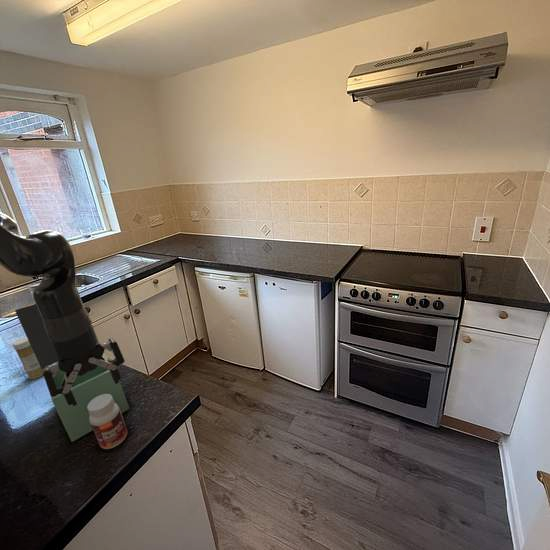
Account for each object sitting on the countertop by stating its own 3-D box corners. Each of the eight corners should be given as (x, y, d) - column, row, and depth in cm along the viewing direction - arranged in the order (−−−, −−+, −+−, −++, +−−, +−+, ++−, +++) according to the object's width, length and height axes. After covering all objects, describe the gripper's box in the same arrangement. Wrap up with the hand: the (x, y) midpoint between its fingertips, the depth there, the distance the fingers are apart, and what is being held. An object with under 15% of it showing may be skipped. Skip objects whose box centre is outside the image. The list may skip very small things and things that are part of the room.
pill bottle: (108, 454, 68) (92, 416, 63) (94, 443, 71) (78, 406, 67) (133, 434, 72) (120, 397, 68) (119, 424, 76) (105, 388, 71)
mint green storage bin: (129, 408, 80) (115, 368, 75) (71, 442, 72) (51, 399, 67) (111, 382, 91) (98, 345, 86) (60, 408, 83) (41, 369, 78)
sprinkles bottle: (46, 368, 101) (31, 334, 96) (45, 376, 97) (29, 341, 92) (29, 374, 99) (13, 340, 94) (28, 382, 95) (10, 346, 90)
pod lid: (77, 291, 82) (76, 290, 82) (14, 310, 73) (14, 309, 74) (98, 344, 86) (97, 344, 86) (41, 368, 77) (41, 368, 78)
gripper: (103, 311, 68) (123, 369, 74) (25, 339, 59) (55, 402, 65) (113, 321, 62) (134, 382, 68) (30, 354, 54) (62, 421, 60)
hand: (96, 392), depth 67 cm, fingers open, 8 cm apart
